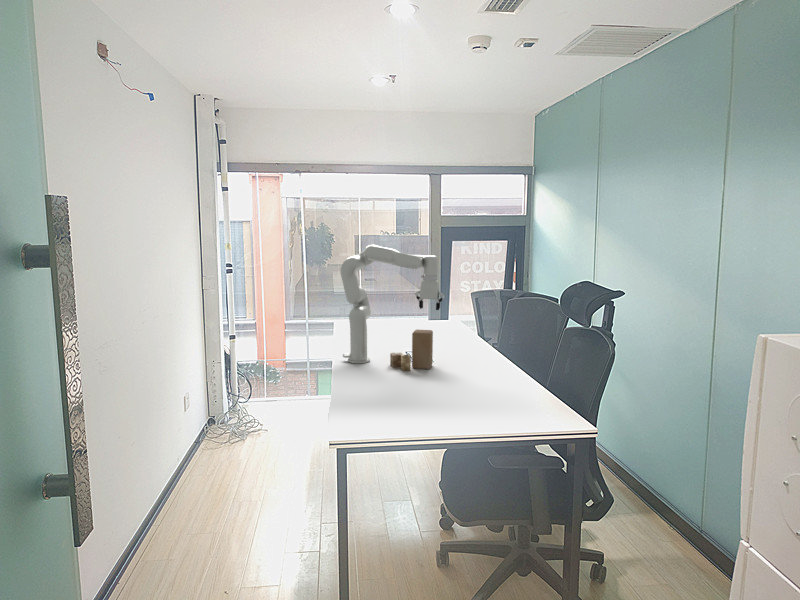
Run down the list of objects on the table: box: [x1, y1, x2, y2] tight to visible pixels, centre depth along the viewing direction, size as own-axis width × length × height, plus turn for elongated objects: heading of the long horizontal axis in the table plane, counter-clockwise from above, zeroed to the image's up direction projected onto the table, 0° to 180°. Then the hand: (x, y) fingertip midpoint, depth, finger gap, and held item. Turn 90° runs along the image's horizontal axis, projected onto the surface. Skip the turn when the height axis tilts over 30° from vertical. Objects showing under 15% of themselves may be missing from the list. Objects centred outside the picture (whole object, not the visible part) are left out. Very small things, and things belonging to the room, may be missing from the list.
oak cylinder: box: [400, 354, 412, 372], centre depth 301 cm, size 5×5×8 cm
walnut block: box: [389, 352, 404, 369], centre depth 309 cm, size 6×6×7 cm
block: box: [411, 329, 434, 370], centre depth 307 cm, size 10×10×20 cm
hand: (429, 309), depth 309 cm, fingers open, 9 cm apart
